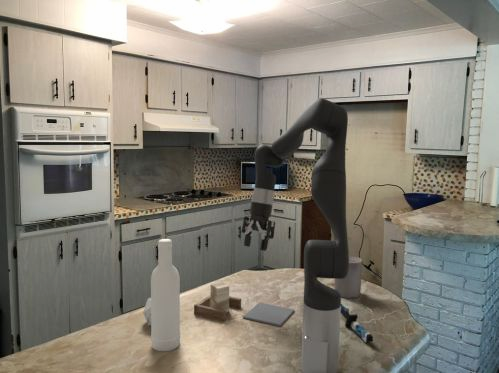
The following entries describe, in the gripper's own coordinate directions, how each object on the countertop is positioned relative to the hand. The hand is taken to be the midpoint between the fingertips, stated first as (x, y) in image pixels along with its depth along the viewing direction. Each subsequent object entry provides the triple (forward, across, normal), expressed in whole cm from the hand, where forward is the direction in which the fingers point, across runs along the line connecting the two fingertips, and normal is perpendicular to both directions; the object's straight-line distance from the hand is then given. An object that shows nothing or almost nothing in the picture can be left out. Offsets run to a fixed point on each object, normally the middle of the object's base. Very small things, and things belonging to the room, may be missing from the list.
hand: (254, 248), depth 145 cm
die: (+27, +8, +29) cm, 40 cm away
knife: (+17, -29, -18) cm, 38 cm away
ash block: (+22, +3, +8) cm, 24 cm away
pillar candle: (+13, -14, -38) cm, 42 cm away
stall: (+22, +3, +8) cm, 24 cm away
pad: (+20, -10, -2) cm, 22 cm away
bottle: (+28, -6, +33) cm, 44 cm away
